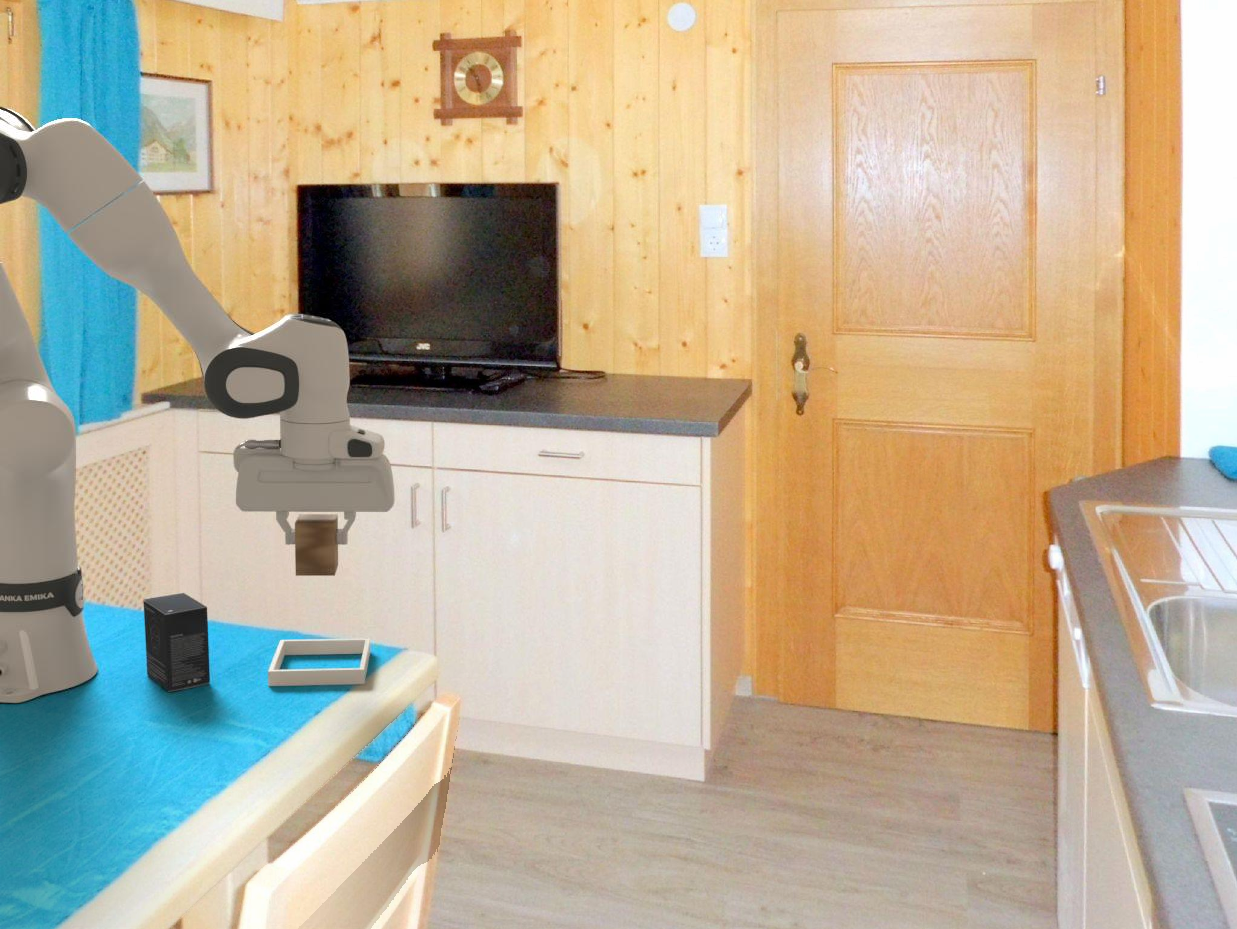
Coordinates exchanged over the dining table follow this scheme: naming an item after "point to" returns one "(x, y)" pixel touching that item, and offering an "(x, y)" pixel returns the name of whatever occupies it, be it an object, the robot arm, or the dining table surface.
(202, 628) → the box
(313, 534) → the walnut block
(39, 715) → the dining table surface
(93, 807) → the dining table surface
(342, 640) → the white square frame
